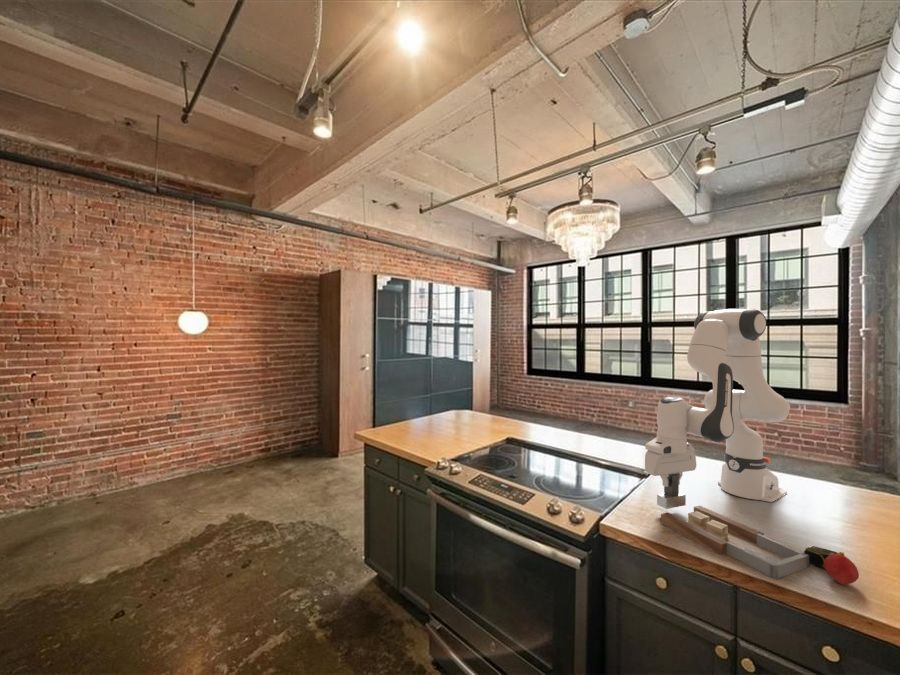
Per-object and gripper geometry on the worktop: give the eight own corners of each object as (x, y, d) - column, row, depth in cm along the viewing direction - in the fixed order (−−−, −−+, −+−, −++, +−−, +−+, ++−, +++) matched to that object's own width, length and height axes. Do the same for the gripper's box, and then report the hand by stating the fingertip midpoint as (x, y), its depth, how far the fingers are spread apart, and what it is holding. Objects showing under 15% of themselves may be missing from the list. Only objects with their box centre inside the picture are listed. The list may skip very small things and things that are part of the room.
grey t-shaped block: (676, 501, 128) (676, 470, 129) (685, 505, 125) (685, 474, 125) (657, 504, 125) (657, 473, 125) (666, 509, 122) (666, 477, 122)
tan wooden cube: (696, 523, 119) (696, 511, 119) (709, 529, 115) (709, 516, 115) (688, 525, 118) (688, 513, 118) (700, 531, 114) (700, 518, 114)
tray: (759, 544, 107) (759, 533, 107) (809, 567, 96) (809, 555, 96) (726, 553, 102) (726, 542, 102) (775, 579, 91) (775, 566, 91)
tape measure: (850, 568, 94) (846, 552, 95) (833, 573, 92) (829, 557, 93) (817, 558, 101) (813, 543, 101) (800, 563, 98) (797, 548, 99)
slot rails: (700, 514, 125) (699, 505, 125) (763, 543, 107) (763, 533, 108) (660, 523, 119) (661, 513, 119) (721, 555, 101) (721, 544, 101)
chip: (712, 532, 114) (712, 519, 114) (727, 538, 110) (727, 525, 110) (706, 536, 111) (706, 523, 111) (721, 542, 108) (721, 528, 108)
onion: (817, 577, 92) (817, 545, 92) (837, 576, 93) (837, 544, 93) (843, 593, 86) (843, 559, 86) (865, 591, 87) (865, 557, 87)
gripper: (684, 440, 132) (684, 478, 132) (641, 444, 125) (641, 485, 125) (701, 444, 126) (701, 485, 126) (657, 449, 119) (657, 492, 119)
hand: (671, 485), depth 125 cm, fingers closed on grey t-shaped block, 3 cm apart
